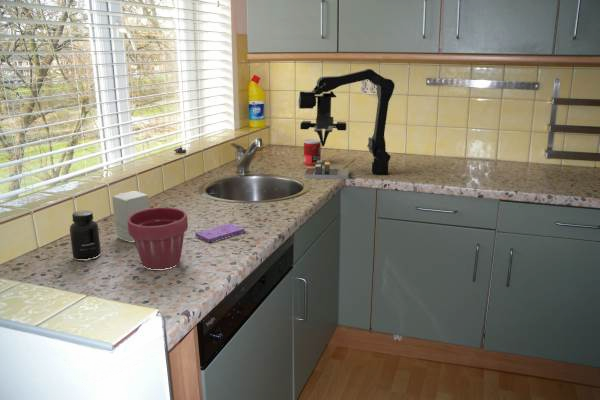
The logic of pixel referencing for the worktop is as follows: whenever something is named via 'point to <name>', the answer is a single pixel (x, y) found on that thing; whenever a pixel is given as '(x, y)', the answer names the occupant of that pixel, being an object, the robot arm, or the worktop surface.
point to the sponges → (219, 232)
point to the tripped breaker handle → (327, 166)
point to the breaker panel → (321, 173)
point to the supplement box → (127, 210)
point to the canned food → (312, 151)
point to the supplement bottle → (84, 235)
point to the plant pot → (158, 235)
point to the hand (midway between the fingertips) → (323, 146)
